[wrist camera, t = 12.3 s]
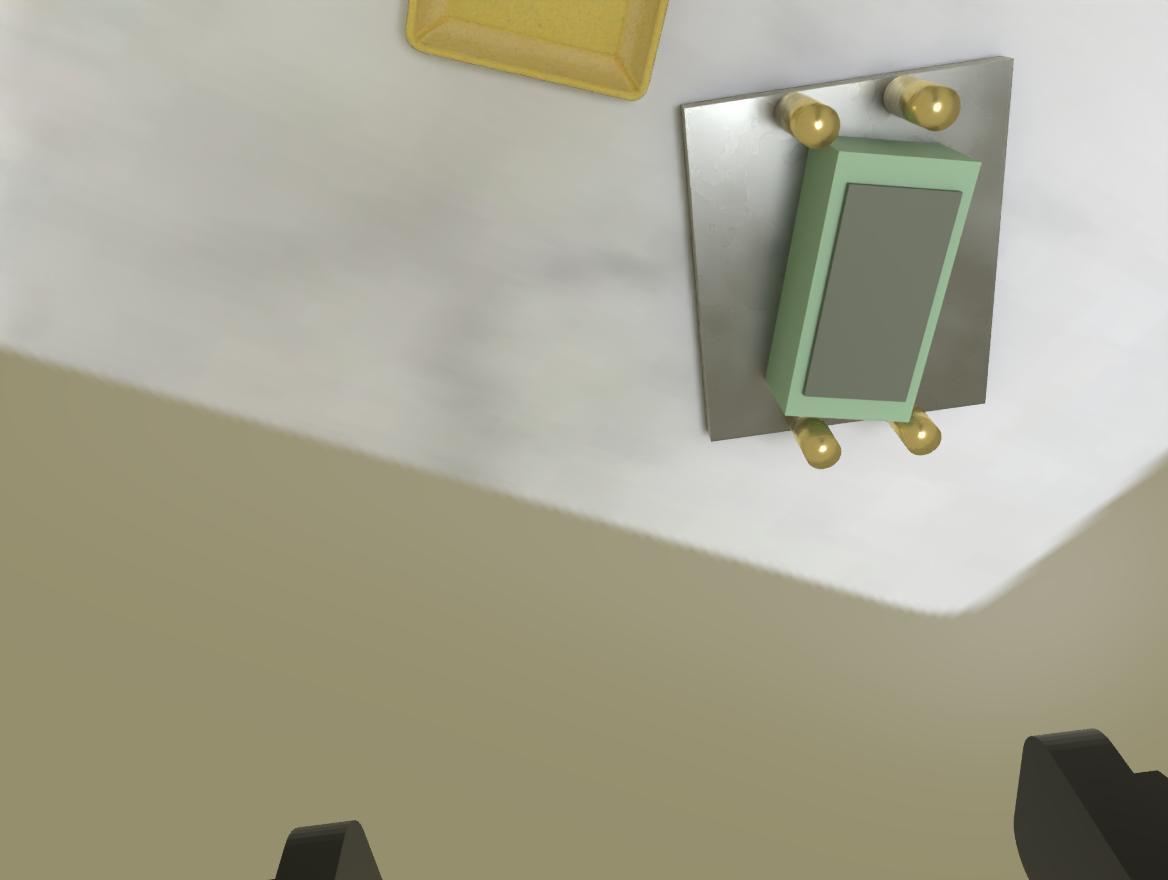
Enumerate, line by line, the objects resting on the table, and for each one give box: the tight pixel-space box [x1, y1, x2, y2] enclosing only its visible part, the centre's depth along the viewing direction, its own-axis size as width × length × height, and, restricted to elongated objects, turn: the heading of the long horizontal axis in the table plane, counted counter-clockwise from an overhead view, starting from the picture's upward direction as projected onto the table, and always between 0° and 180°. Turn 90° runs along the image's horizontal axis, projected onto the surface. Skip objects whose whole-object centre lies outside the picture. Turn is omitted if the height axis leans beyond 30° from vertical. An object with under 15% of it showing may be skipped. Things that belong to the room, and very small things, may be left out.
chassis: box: [681, 56, 1014, 469], centre depth 35 cm, size 14×12×4 cm
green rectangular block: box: [765, 136, 982, 422], centre depth 34 cm, size 10×5×4 cm, turn 176°
